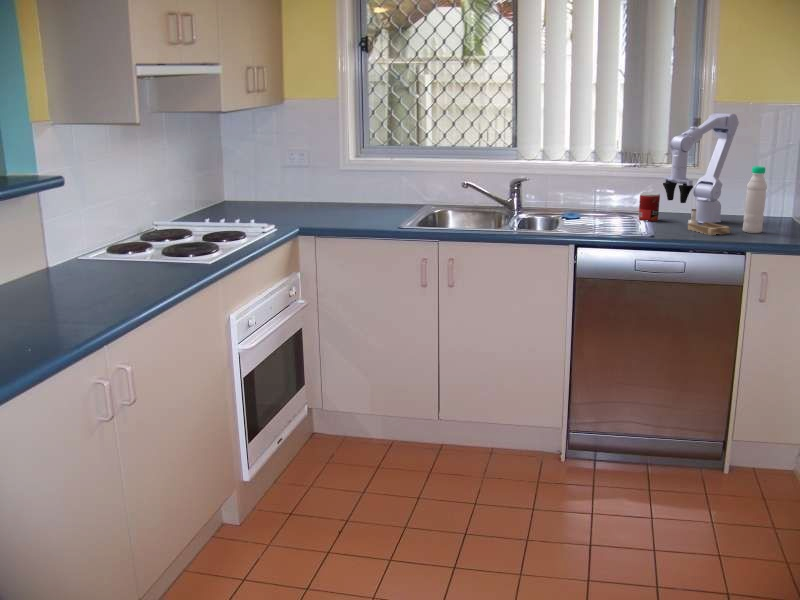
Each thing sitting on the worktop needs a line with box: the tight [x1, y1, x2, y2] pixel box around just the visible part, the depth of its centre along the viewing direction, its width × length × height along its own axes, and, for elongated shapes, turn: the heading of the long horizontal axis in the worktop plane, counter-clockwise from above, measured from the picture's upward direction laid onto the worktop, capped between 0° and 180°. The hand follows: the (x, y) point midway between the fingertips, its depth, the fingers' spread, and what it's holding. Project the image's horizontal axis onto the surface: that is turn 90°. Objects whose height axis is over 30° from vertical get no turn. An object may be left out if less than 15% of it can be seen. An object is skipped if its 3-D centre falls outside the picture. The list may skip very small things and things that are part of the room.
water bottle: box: [742, 166, 768, 234], centre depth 334 cm, size 7×7×25 cm
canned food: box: [638, 191, 661, 222], centre depth 362 cm, size 8×8×11 cm
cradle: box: [687, 222, 731, 236], centre depth 338 cm, size 9×13×2 cm
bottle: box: [687, 208, 699, 225], centre depth 345 cm, size 4×4×8 cm
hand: (676, 201), depth 348 cm, fingers open, 7 cm apart
